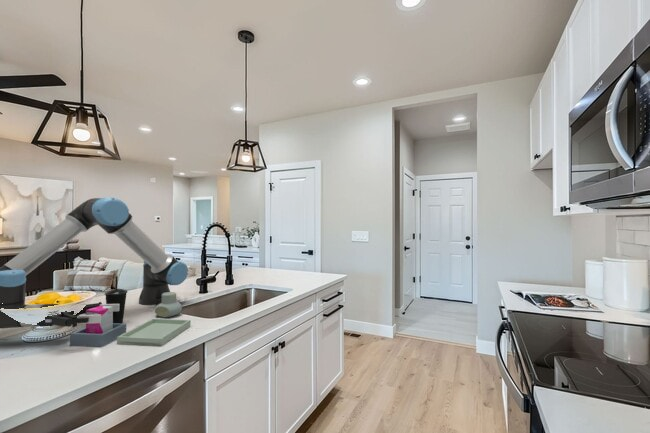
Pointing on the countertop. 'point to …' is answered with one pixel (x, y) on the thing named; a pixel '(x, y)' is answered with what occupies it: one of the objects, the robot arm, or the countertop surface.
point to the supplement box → (105, 320)
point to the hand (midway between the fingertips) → (110, 312)
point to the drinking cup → (117, 302)
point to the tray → (154, 332)
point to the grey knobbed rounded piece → (168, 305)
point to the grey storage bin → (96, 336)
